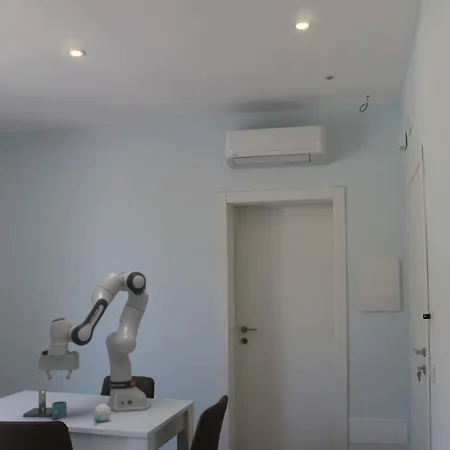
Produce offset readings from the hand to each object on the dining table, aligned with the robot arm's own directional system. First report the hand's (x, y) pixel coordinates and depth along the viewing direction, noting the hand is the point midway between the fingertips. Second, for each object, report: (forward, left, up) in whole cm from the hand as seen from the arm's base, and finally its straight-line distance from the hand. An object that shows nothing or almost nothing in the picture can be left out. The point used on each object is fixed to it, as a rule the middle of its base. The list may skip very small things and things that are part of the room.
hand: (58, 379), depth 293 cm
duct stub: (+12, -8, -19) cm, 23 cm away
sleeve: (0, +1, -18) cm, 19 cm away
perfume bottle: (-24, +10, -19) cm, 32 cm away
